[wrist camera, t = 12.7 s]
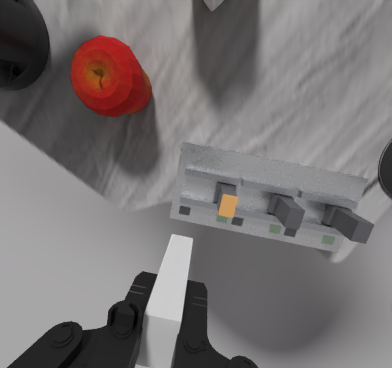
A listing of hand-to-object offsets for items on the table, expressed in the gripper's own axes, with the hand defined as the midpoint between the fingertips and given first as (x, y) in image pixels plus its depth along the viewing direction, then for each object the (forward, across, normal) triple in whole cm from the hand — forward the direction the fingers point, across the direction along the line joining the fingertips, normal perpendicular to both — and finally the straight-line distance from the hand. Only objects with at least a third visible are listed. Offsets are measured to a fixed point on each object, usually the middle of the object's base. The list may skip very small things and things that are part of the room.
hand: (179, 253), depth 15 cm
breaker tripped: (+20, +5, 0) cm, 20 cm away
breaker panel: (+22, +11, 0) cm, 24 cm away
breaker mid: (+20, +14, 0) cm, 24 cm away
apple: (+22, -13, +12) cm, 28 cm away
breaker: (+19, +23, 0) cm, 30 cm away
